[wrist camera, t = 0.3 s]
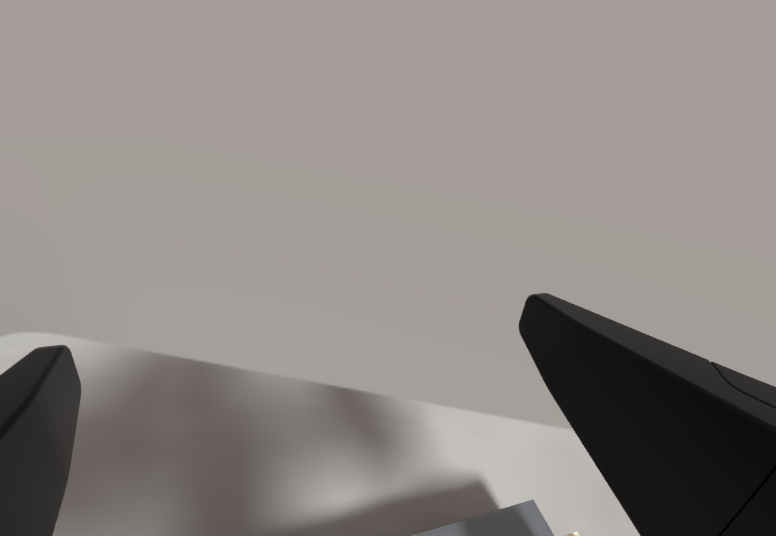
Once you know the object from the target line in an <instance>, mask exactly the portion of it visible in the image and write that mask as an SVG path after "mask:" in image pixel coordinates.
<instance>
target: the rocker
mask: <svg viewBox="0 0 776 536" xmlns="http://www.w3.org/2000/svg"><path fill="white" fill-rule="evenodd" d="M565 536H579V534H578V532H574V533H571V534H568V535H565Z"/></svg>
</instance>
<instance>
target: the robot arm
mask: <svg viewBox="0 0 776 536" xmlns="http://www.w3.org/2000/svg"><path fill="white" fill-rule="evenodd" d="M519 331H520V334H521V336H522V338H523V340H524V342H525V344H526V346H527V348H528V350H529V352H530V354H531V356H532V358H533V360H534V362H535V364H536V366H537V368H538V370H539V372H540V374H541V376H542V378H543V380H544V382H545V384H546V386H547V388H548V390H549V391H550V393H551V395H552V396H553V398H554V400H555V401H556V402H557V404H558V406H559V407H560V409H561V411H562V412H563V414H564V415H565V417H566V418H567V420H568V422H569V423H570V425H571V426H572V428H573V430H574V431H575V433H576V434H577V436H578V438H579V439H580V441H581V442H582V444H583V445H584V447H585V449H586V450H587V452H588V453H589V455H590V457H591V458H592V460H593V461H594V463H595V464H596V466H597V468H598V469H599V471H600V472H601V474H602V476H603V477H604V479H605V480H606V482H607V483H608V485H609V487H610V488H611V490H612V491H613V493H614V495H615V496H616V498H617V499H618V501H619V502H620V504H621V506H622V507H623V509H624V510H625V512H626V514H627V515H628V517H629V518H630V520H631V521H632V523H633V525H634V526H635V528H636V529H637V531H638V533H639V534H640V536H776V387H774V386H771V385H769V384H767V383H764V382H761V381H759V380H756V379H754V378H751V377H749V376H746V375H744V374H741V373H739V372H736V371H734V370H731V369H729V368H727V367H724V366H722V365H719V364H717V363H715V362H709V360H707V359H705V358H702V357H700V356H697V355H695V354H692V353H690V352H688V351H685V350H683V349H681V348H678V347H676V346H673V345H671V344H668V343H666V342H664V341H661V340H659V339H656V338H654V337H651V336H649V335H647V334H644V333H642V332H639V331H637V330H635V329H632V328H630V327H627V326H625V325H623V324H620V323H618V322H615V321H613V320H611V319H608V318H606V317H603V316H601V315H598V314H596V313H594V312H591V311H589V310H586V309H584V308H582V307H579V306H577V305H574V304H572V303H569V302H567V301H565V300H562V299H560V298H557V297H555V296H552V295H550V294H547V293H541V294H533V295H530V296H529V297H528V298H527V299H526V302H525V306H524V309H523V312H522V315H521V318H520V321H519ZM80 397H81V383H80V379H79V376H78V373H77V370H76V366H75V363H74V360H73V357H72V354H71V351H70V349H69V348H68V347H67V346H65V345H57V346H47V347H39V348H36V349H35V350H33V351H32V352H30V353H29V354H28V355H26V356H25V357H24V358H22V359H21V360H20V361H18V362H17V363H16V364H14V365H13V366H12V367H10V368H9V369H8V370H6V371H5V372H4V373H2V374H1V375H0V536H52V535H53V531H54V528H55V524H56V521H57V517H58V514H59V510H60V507H61V503H62V500H63V496H64V493H65V489H66V485H67V481H68V475H69V470H70V464H71V457H72V451H73V444H74V437H75V431H76V424H77V417H78V411H79V404H80Z"/></svg>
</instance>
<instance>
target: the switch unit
mask: <svg viewBox="0 0 776 536" xmlns="http://www.w3.org/2000/svg"><path fill="white" fill-rule="evenodd" d="M412 536H554V535H553V533H552V531H551V529H550V528H549V526H548V524H547V523H546V521H545V519H544V517H543V516H542V514H541V512H540V511H539V509H538V507H537V505H536V504H535V502H534V500H530V501H527V502H523V503H520V504H517V505H513V506H510V507H506V508H503V509H500V510H496V511H493V512H489V513H486V514H483V515H479V516H476V517H473V518H469V519H466V520H462V521H459V522H456V523H452V524H449V525H445V526H442V527H439V528H435V529H432V530H429V531H425V532H422V533H418V534H415V535H412Z"/></svg>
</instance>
